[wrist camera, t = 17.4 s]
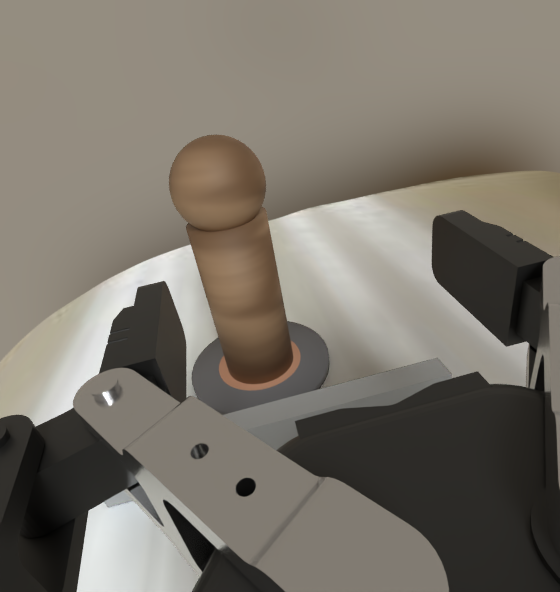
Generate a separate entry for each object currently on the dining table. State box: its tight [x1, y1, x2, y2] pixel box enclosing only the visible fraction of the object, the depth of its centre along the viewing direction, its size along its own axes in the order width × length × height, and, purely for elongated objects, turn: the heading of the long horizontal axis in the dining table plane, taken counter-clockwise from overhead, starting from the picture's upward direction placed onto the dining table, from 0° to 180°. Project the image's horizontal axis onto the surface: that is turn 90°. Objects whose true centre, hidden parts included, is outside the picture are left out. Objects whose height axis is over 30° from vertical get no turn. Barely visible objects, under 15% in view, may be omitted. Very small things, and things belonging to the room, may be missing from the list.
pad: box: [192, 321, 329, 415], centre depth 31 cm, size 10×10×1 cm
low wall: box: [104, 358, 452, 507], centre depth 24 cm, size 20×2×3 cm, turn 100°
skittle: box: [169, 135, 293, 384], centre depth 27 cm, size 5×5×16 cm
